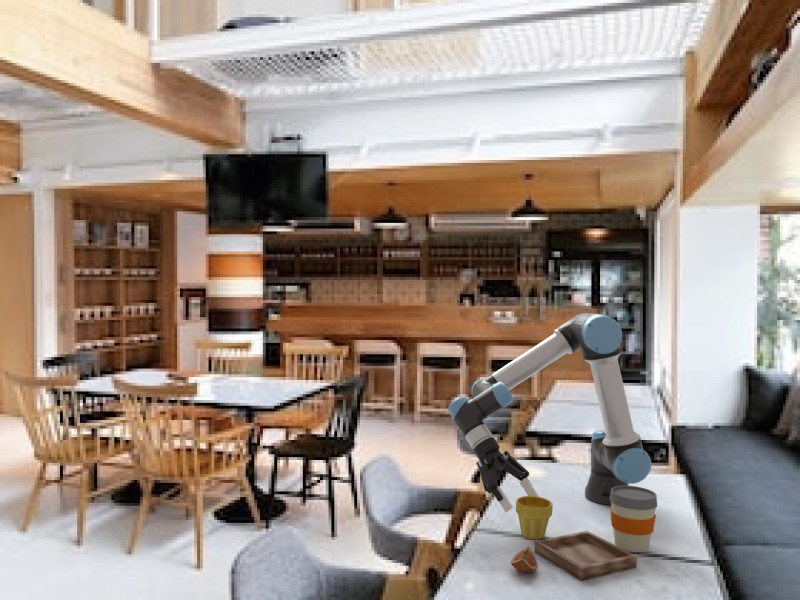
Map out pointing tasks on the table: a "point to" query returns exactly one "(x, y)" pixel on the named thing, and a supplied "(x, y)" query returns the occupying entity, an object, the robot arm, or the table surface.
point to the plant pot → (533, 515)
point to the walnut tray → (585, 555)
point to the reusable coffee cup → (632, 517)
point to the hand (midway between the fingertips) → (522, 504)
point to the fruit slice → (525, 561)
